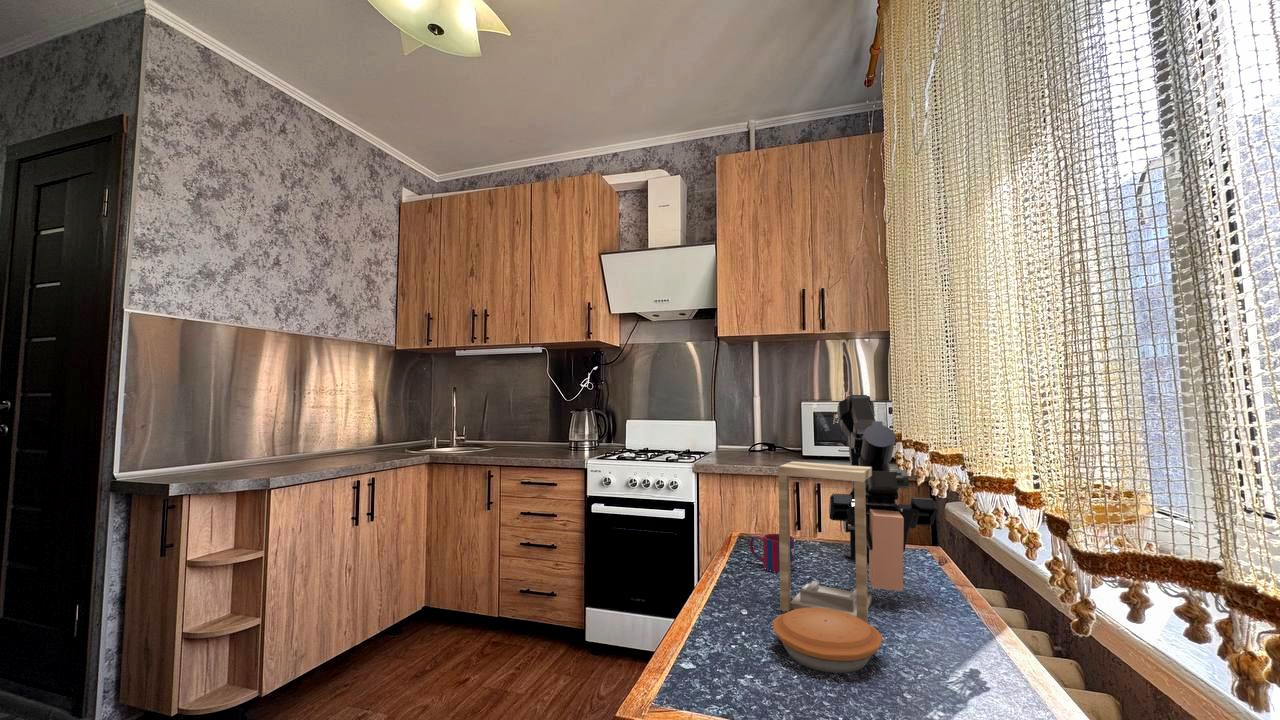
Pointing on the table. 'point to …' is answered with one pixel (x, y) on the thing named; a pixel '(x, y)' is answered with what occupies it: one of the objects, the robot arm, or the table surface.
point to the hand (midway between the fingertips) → (887, 550)
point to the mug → (773, 552)
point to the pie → (827, 639)
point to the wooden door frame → (859, 598)
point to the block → (886, 550)
